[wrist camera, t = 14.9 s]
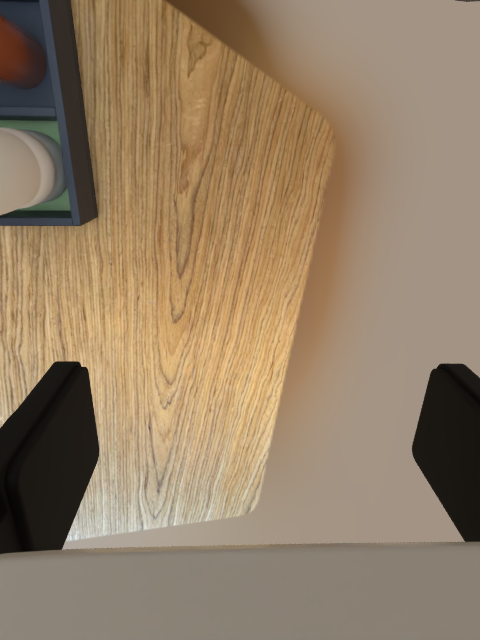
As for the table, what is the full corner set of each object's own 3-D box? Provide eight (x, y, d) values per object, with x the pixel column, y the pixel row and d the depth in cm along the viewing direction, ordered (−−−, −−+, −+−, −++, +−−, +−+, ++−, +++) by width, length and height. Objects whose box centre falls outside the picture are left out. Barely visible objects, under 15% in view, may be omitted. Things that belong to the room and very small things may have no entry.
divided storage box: (3, 216, 45) (-28, 225, 39) (-46, -7, 37) (-93, -35, 31) (98, 216, 45) (80, 225, 40) (69, -4, 37) (43, -31, 32)
